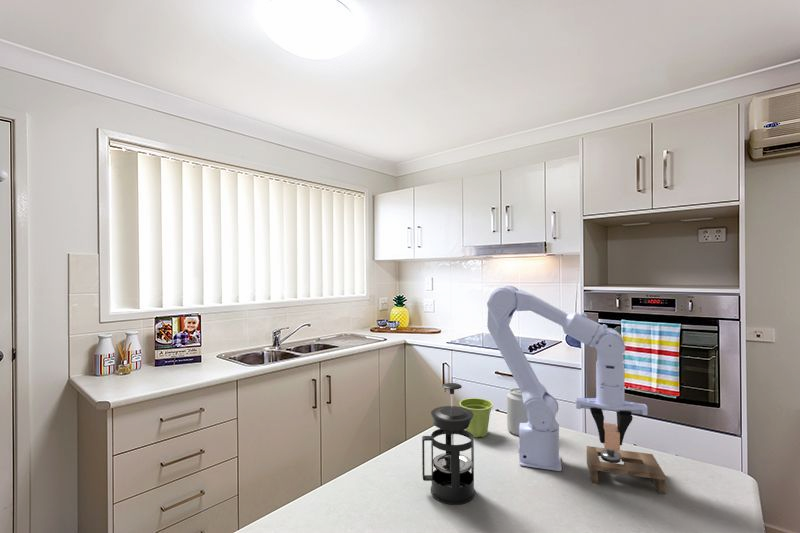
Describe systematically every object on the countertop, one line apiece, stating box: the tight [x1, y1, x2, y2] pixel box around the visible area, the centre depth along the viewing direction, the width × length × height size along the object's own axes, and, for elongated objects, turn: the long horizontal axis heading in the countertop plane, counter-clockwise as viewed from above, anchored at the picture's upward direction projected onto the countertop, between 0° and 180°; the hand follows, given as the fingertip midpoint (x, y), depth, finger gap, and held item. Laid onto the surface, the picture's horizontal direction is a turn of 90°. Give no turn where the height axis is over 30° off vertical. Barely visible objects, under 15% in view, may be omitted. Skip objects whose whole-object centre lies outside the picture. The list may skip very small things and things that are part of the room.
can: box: [506, 387, 528, 437], centre depth 117 cm, size 8×8×12 cm
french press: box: [421, 382, 476, 506], centre depth 86 cm, size 12×9×23 cm
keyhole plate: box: [586, 445, 666, 495], centre depth 92 cm, size 14×10×4 cm
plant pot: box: [459, 397, 494, 438], centre depth 116 cm, size 9×9×9 cm
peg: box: [600, 422, 622, 464], centre depth 93 cm, size 4×5×7 cm
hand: (610, 442), depth 93 cm, fingers closed on peg, 3 cm apart
